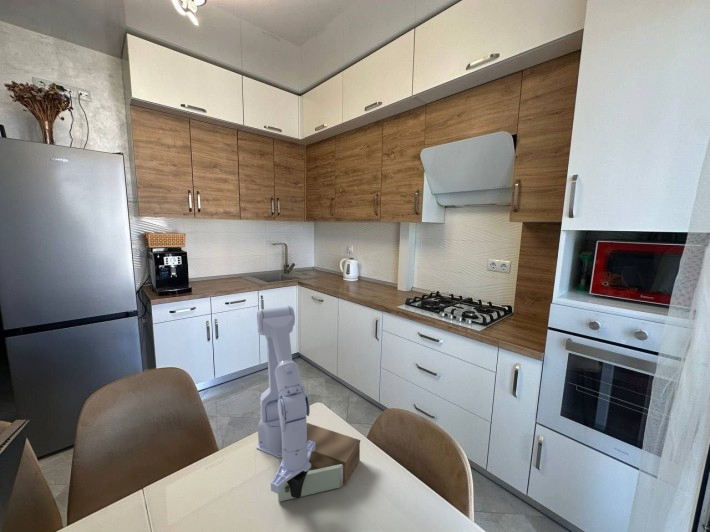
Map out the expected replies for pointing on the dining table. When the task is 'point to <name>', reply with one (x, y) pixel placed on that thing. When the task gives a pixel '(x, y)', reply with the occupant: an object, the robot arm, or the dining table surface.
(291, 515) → the dining table surface
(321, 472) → the door
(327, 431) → the cabinet
